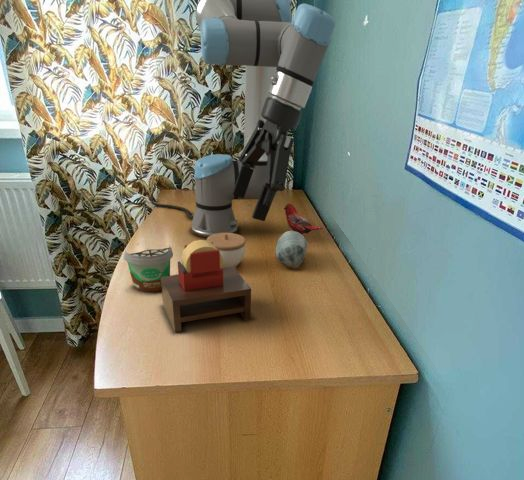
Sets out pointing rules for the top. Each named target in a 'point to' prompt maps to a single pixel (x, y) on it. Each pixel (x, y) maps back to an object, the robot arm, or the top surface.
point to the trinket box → (229, 247)
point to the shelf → (206, 299)
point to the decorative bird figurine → (298, 221)
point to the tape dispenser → (200, 266)
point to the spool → (291, 249)
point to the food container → (149, 268)
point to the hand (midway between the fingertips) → (247, 207)
